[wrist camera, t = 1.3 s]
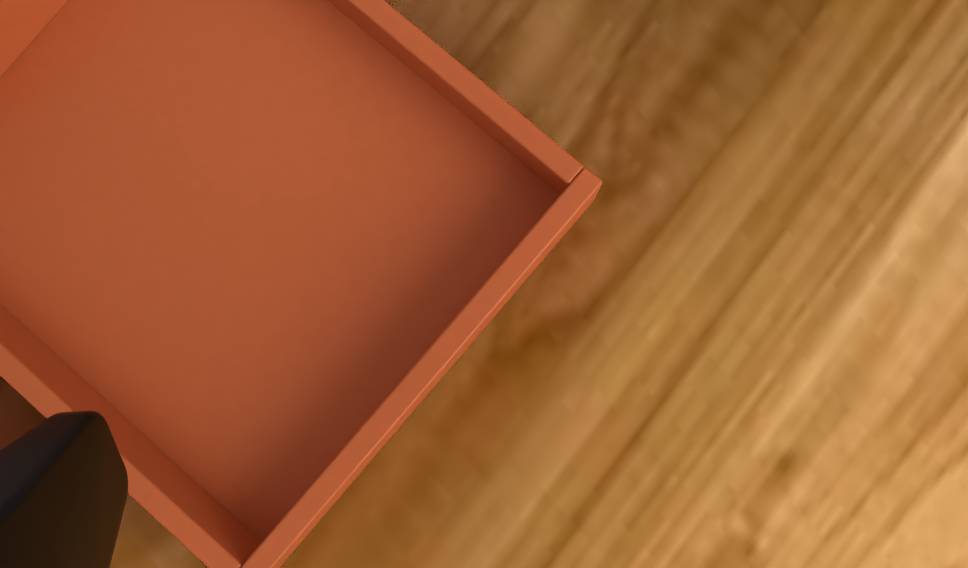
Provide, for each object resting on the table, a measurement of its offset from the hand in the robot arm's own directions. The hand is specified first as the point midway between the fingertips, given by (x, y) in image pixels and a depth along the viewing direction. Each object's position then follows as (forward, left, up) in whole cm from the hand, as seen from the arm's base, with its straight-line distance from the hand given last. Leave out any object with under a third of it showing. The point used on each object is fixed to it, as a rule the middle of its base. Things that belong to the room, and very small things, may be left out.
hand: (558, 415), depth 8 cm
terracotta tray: (+9, +2, -15) cm, 18 cm away
